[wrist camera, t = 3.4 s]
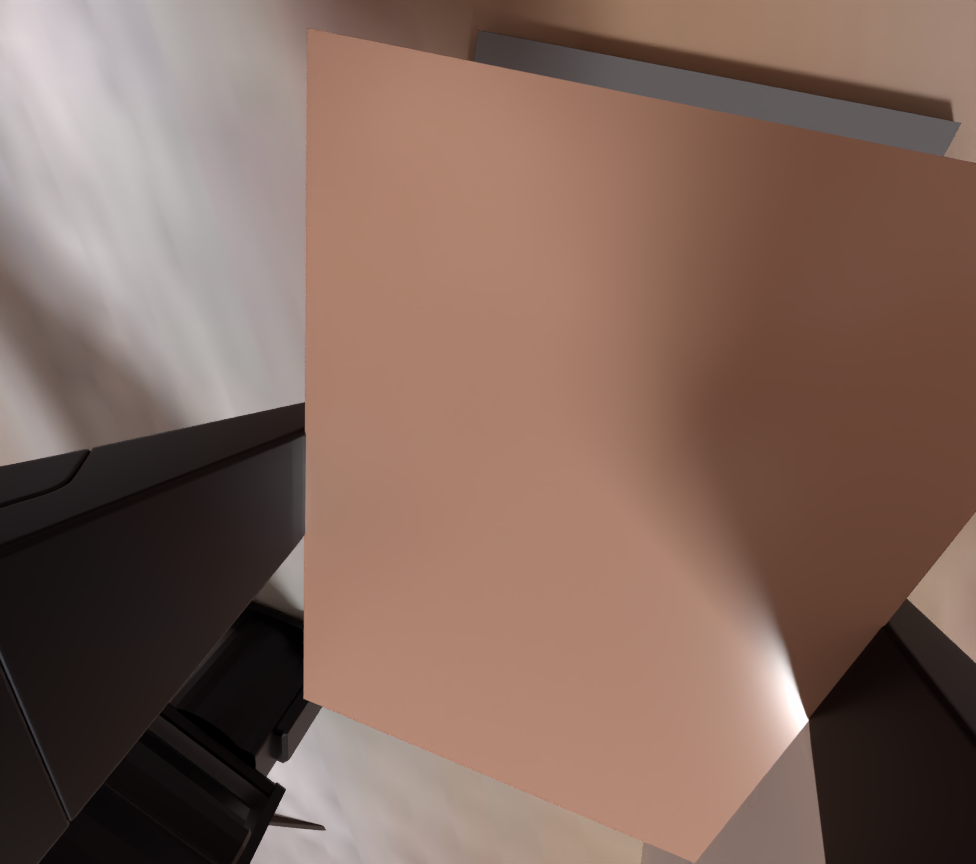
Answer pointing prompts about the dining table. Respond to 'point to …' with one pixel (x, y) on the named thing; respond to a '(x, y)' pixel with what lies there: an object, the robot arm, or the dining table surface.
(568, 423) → the terracotta tile
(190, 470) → the robot arm
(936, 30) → the dining table surface
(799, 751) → the white cup
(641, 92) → the rubber mat
